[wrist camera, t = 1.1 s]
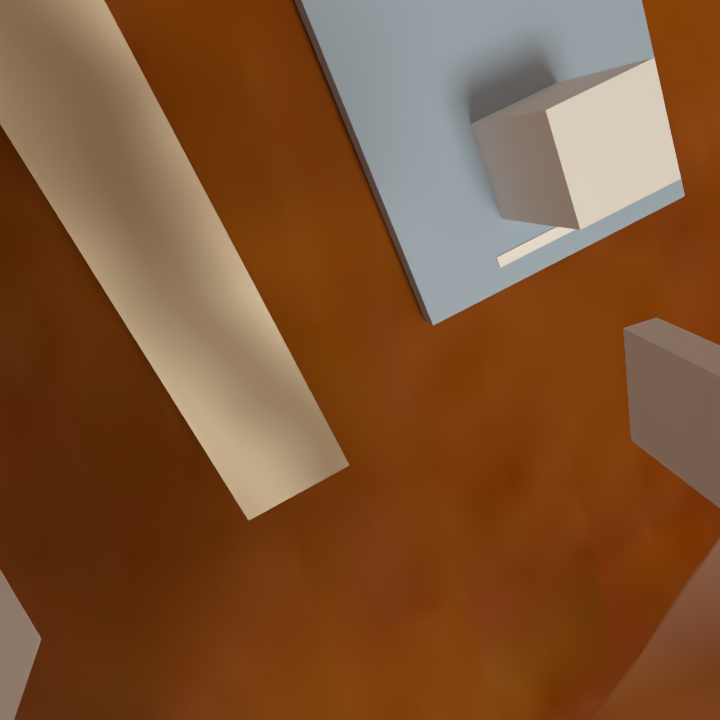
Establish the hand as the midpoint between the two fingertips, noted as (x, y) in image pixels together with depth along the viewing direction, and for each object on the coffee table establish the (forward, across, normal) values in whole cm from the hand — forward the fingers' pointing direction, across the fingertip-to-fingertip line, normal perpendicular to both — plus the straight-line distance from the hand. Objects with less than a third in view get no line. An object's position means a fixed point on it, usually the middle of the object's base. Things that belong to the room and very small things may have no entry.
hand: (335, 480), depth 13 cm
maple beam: (+20, +4, -2) cm, 21 cm away
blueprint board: (+22, -13, -9) cm, 27 cm away
